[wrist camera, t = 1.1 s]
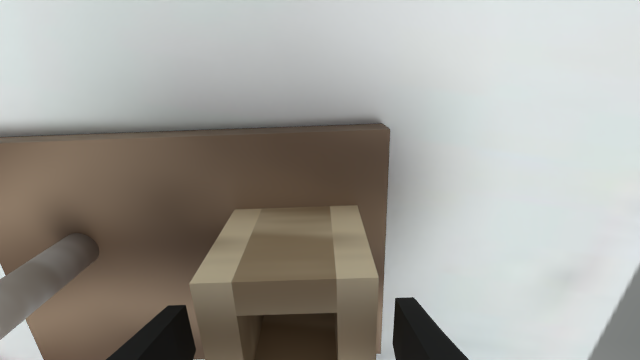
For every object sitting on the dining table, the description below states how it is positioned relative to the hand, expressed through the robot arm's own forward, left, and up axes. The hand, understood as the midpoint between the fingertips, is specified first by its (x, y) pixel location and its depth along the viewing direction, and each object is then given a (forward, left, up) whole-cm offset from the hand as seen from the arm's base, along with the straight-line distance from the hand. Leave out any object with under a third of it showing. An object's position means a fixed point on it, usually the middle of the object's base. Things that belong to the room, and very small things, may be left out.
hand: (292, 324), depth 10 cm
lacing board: (0, +5, -6) cm, 7 cm away
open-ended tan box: (0, 0, -4) cm, 4 cm away
